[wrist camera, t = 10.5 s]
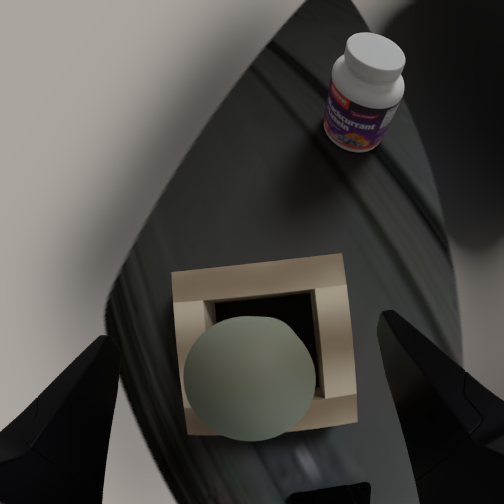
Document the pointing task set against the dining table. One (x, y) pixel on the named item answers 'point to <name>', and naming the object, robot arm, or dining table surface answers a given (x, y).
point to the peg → (249, 378)
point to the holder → (268, 286)
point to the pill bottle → (364, 92)
